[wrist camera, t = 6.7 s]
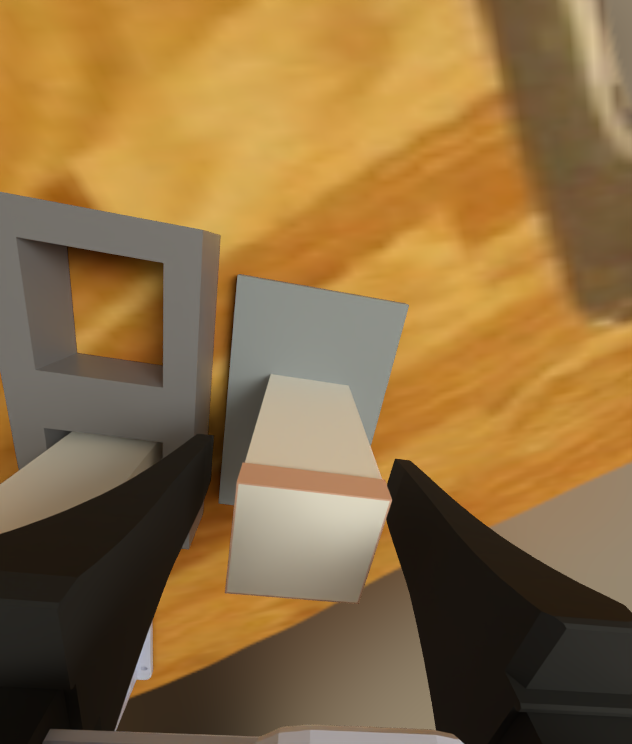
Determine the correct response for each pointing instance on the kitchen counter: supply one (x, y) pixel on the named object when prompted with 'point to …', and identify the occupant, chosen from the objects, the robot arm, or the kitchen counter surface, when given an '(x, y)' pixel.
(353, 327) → the mat
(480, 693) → the robot arm
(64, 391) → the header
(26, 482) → the plug
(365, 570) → the plug
